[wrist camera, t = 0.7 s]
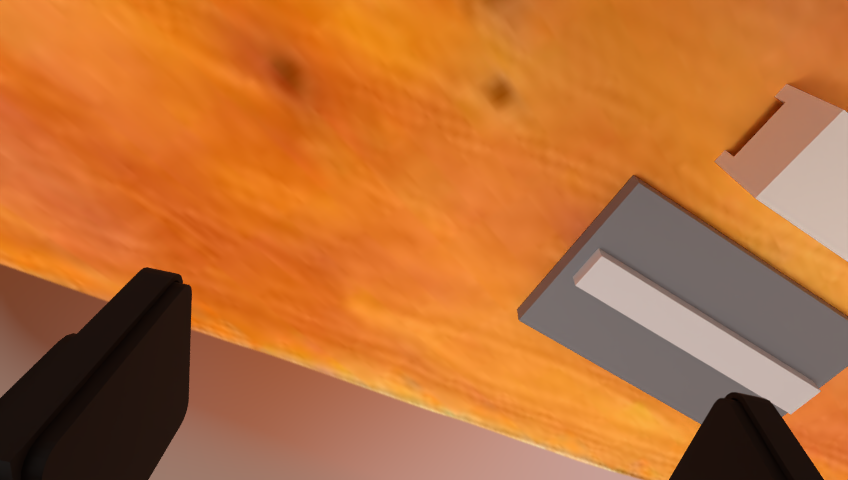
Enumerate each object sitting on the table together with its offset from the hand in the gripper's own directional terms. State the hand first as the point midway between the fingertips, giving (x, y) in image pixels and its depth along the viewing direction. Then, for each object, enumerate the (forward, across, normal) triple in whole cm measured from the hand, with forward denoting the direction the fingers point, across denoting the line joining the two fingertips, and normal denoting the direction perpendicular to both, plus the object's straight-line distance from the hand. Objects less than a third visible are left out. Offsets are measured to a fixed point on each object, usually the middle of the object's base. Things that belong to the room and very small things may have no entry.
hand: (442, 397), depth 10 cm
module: (+32, -24, +1) cm, 40 cm away
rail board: (+32, -23, +15) cm, 42 cm away
